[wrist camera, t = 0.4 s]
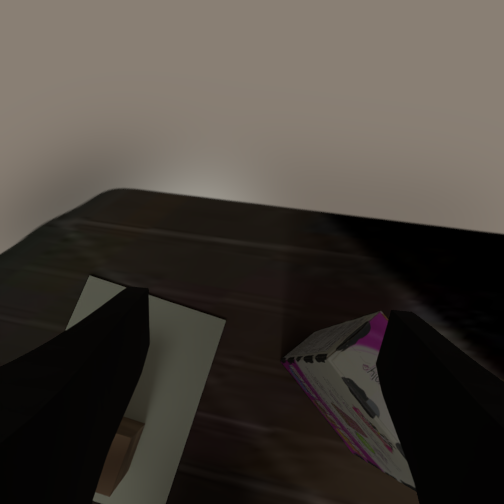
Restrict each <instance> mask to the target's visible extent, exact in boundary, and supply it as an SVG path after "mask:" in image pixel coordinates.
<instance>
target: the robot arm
mask: <svg viewBox="0 0 504 504" xmlns="http://www.w3.org/2000/svg"><path fill="white" fill-rule="evenodd" d="M149 346H150V328H149V289H148V288H138V287H126V288H125V289H124V290H122V291H121V292H119V293H118V294H117V295H115V296H114V297H113V298H111V299H110V300H109V301H107V302H106V303H105V304H103V305H102V306H101V307H99V308H98V309H96V310H95V311H94V312H92V313H91V314H89V315H88V316H87V317H85V318H84V319H83V320H81V321H80V322H78V323H77V324H75V325H73V326H72V327H70V328H69V329H67V330H66V331H64V332H63V333H61V334H59V335H58V336H56V337H55V338H53V339H52V340H50V341H48V342H47V343H45V344H43V345H41V346H40V347H38V348H36V349H34V350H32V351H31V352H29V353H27V354H25V355H23V356H21V357H19V358H17V359H15V360H13V361H11V362H9V363H7V364H5V365H3V366H1V367H0V504H92V501H93V498H94V495H95V492H96V488H97V485H98V482H99V479H100V476H101V473H102V470H103V466H104V463H105V460H106V457H107V455H108V452H109V449H110V447H111V444H112V442H113V439H114V437H115V435H116V432H117V430H118V428H119V425H120V423H121V421H122V419H123V416H124V414H125V412H126V409H127V407H128V405H129V402H130V400H131V398H132V395H133V393H134V391H135V388H136V386H137V384H138V381H139V379H140V376H141V374H142V370H143V367H144V364H145V360H146V357H147V353H148V349H149ZM376 368H377V373H378V378H379V382H380V387H381V391H382V395H383V398H384V401H385V404H386V406H387V409H388V412H389V415H390V417H391V420H392V423H393V425H394V428H395V431H396V433H397V436H398V439H399V441H400V444H401V447H402V449H403V452H404V455H405V458H406V460H407V463H408V466H409V469H410V472H411V475H412V478H413V481H414V484H415V488H416V492H417V495H418V499H419V503H420V504H504V382H503V381H502V380H500V379H499V378H498V377H496V376H495V375H493V374H492V373H491V372H489V371H488V370H486V369H485V368H484V367H482V366H481V365H480V364H478V363H477V362H476V361H474V360H473V359H472V358H470V357H469V356H468V355H466V354H465V353H464V352H463V351H461V350H460V349H459V348H458V347H456V346H455V345H454V344H453V343H451V342H450V341H449V340H448V339H446V338H445V337H444V336H443V335H441V334H440V333H439V332H438V331H436V330H435V329H434V328H433V327H431V326H430V325H429V324H428V323H426V322H425V321H424V320H422V319H421V318H420V317H418V316H417V315H416V314H414V313H413V312H407V311H396V310H391V313H390V317H389V320H388V323H387V327H386V330H385V334H384V337H383V340H382V344H381V347H380V350H379V354H378V357H377V361H376Z"/></svg>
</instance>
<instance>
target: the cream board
mask: <svg viewBox="0 0 504 504" xmlns="http://www.w3.org/2000/svg"><path fill="white" fill-rule="evenodd" d="M125 288H126V287H123V286H120V285H117V284H114V283H111V282H108V281H105V280H102V279H99V278H96V277H93V276H89V278H88V280H87V283H86V285H85V287H84V289H83V292H82V294H81V296H80V299H79V301H78V303H77V305H76V308H75V310H74V312H73V314H72V317H71V319H70V321H69V323H68V326H67V328H66V330H67V329H69V328H70V327H72V326H73V325H75V324H77V323H78V322H80V321H81V320H83V319H84V318H85V317H87V316H88V315H89V314H91V313H92V312H94V311H95V310H96V309H98V308H99V307H101V306H102V305H103V304H105V303H106V302H107V301H109V300H110V299H111V298H113V297H114V296H115V295H117V294H118V293H119V292H121V291H122V290H124V289H125ZM225 322H226V320H223V319H220V318H217V317H214V316H211V315H208V314H205V313H202V312H199V311H196V310H193V309H190V308H187V307H184V306H181V305H178V304H175V303H172V302H169V301H166V300H163V299H160V298H157V297H154V296H151V295H149V328H150V346H149V349H148V353H147V357H146V360H145V364H144V367H143V370H142V374H141V376H140V379H139V381H138V384H137V386H136V388H135V391H134V393H133V395H132V398H131V400H130V402H129V405H128V407H127V409H126V412H125V414H124V416H123V417H127V418H130V419H133V420H136V421H139V422H142V423H145V426H144V429H143V432H142V434H141V437H140V440H139V443H138V445H137V448H136V451H135V454H134V456H133V459H132V462H131V465H130V468H129V470H128V472H127V473H126V475H125V476H124V478H123V479H122V480H121V482H120V483H119V485H118V486H117V487H116V489H115V490H114V492H113V493H112V494H111V496H110V497H108V496H105V495H102V494H99V493H96V492H95V495H94V498H93V501H96V502H99V503H102V504H166V501H167V498H168V495H169V492H170V489H171V486H172V483H173V480H174V477H175V474H176V471H177V468H178V465H179V462H180V459H181V456H182V453H183V449H184V446H185V443H186V440H187V437H188V434H189V431H190V428H191V425H192V422H193V419H194V416H195V413H196V410H197V407H198V404H199V401H200V398H201V395H202V392H203V389H204V386H205V383H206V380H207V377H208V374H209V371H210V368H211V365H212V362H213V359H214V355H215V352H216V349H217V346H218V343H219V340H220V337H221V334H222V331H223V328H224V325H225ZM66 330H65V331H66Z"/></svg>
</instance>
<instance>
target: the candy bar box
mask: <svg viewBox="0 0 504 504" xmlns="http://www.w3.org/2000/svg"><path fill="white" fill-rule="evenodd" d="M388 320H389V319H388V318H387V317H386V316H385V315H384V313H383V312H382V311H378V312H375V313H371V314H369V315H365V316H363V317H360V318H356V319H353V320H350V321H347V322H344V323H341V324H337V325H334V326H331V327H328V328H324V329H321V330H318V331H315V332H314V333H313V334H311V335H310V336H309V337H308V338H307V339H305V340H304V341H303V342H302V343H300V344H299V345H298V346H297V347H296V348H294V349H293V350H292V351H291V352H289V353H288V354H287V355H286V356H285V357H283V358H282V359H281V363H282V364H283V365H284V366H285V368H286V369H287V370H288V372H289V373H290V374H291V375H292V377H293V378H294V379H295V380H296V382H297V383H298V384H299V386H300V387H301V388H302V389H303V391H304V392H305V393H306V394H307V396H308V397H309V398H310V399H311V401H312V402H313V403H314V405H315V406H316V407H317V408H318V410H319V411H320V412H321V413H322V415H323V416H324V417H325V419H326V420H327V421H328V422H329V424H330V425H331V426H332V428H333V429H334V430H335V431H336V433H337V434H338V435H339V436H340V438H341V439H342V440H343V442H344V443H345V444H346V445H347V447H348V448H349V449H350V451H351V452H352V453H353V454H354V455H357V456H358V457H360V458H361V459H363V460H365V461H366V462H368V463H370V464H372V465H373V466H375V467H376V468H378V469H380V470H382V471H383V472H385V473H386V474H388V475H390V476H391V477H393V478H395V479H396V480H398V481H399V482H401V483H403V484H404V485H406V486H408V487H410V488H411V489H413V490H415V491H416V488H415V484H414V481H413V478H412V475H411V472H410V469H409V466H408V463H407V460H406V458H405V455H404V452H403V449H402V447H401V444H400V441H399V439H398V436H397V433H396V431H395V428H394V425H393V423H392V420H391V417H390V415H389V412H388V409H387V406H386V404H385V401H384V398H383V395H382V391H381V387H380V382H379V378H378V373H377V368H376V361H377V357H378V354H379V350H380V347H381V344H382V340H383V337H384V334H385V330H386V327H387V323H388Z"/></svg>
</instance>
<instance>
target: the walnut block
mask: <svg viewBox="0 0 504 504" xmlns="http://www.w3.org/2000/svg"><path fill="white" fill-rule="evenodd" d="M144 426H145V423H142V422H139V421H136V420H133V419H130V418H127V417H123V419H122V421H121V423H120V425H119V428H118V430H117V432H116V435H115V437H114V439H113V442H112V444H111V447H110V449H109V452H108V455H107V457H106V460H105V463H104V466H103V470H102V473H101V476H100V479H99V482H98V485H97V488H96V493H99V494H102V495H105V496H108V497H110V496H111V494H112V493H113V492H114V490H115V489H116V487H117V486H118V485H119V483H120V482H121V480H122V479H123V478H124V476H125V475H126V473H127V472H128V470H129V468H130V465H131V462H132V459H133V456H134V454H135V451H136V448H137V445H138V443H139V440H140V437H141V434H142V432H143V429H144Z"/></svg>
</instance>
